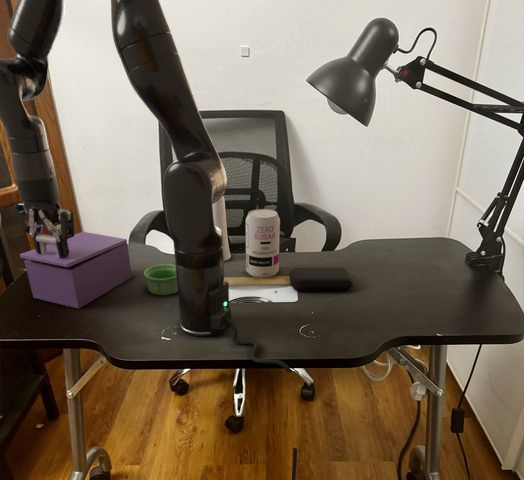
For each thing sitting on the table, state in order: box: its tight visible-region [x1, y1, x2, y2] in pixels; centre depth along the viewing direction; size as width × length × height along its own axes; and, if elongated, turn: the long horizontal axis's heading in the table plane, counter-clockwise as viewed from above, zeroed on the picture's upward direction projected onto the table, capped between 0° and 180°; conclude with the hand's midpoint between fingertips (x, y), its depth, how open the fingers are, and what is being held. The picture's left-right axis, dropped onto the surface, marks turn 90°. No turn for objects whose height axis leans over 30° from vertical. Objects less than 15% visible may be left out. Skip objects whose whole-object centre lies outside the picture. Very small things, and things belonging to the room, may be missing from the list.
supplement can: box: [245, 208, 281, 279], centre depth 127 cm, size 8×8×15 cm
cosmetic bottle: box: [212, 195, 231, 262], centre depth 133 cm, size 6×6×22 cm
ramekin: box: [143, 263, 178, 296], centre depth 121 cm, size 9×9×4 cm
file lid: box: [19, 231, 128, 267], centre depth 116 cm, size 20×13×5 cm, turn 156°
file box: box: [24, 242, 133, 310], centre depth 120 cm, size 19×13×9 cm
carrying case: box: [288, 266, 354, 292], centre depth 124 cm, size 11×3×15 cm
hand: (53, 254), depth 111 cm, fingers closed on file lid, 5 cm apart
